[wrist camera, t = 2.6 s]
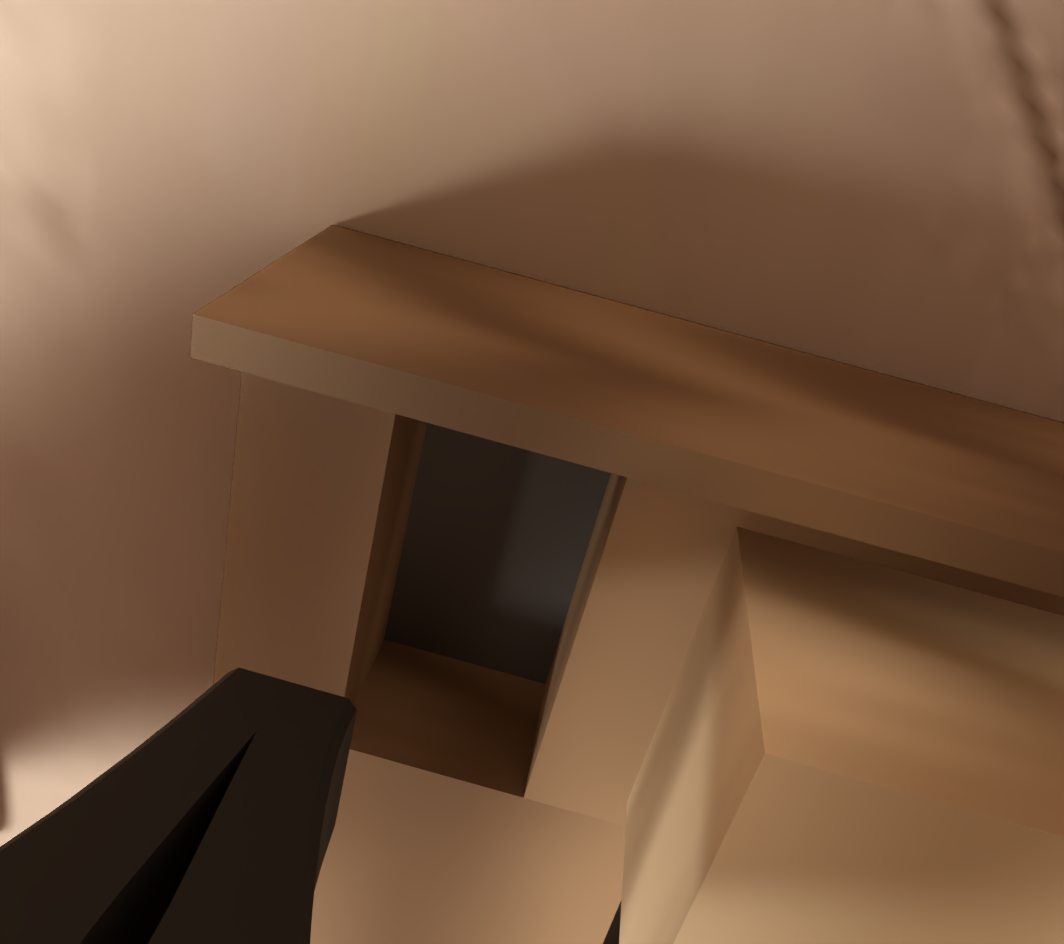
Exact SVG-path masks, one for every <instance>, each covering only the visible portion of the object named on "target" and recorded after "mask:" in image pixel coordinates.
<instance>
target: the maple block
mask: <svg viewBox="0 0 1064 944" xmlns="http://www.w3.org/2000/svg"><path fill="white" fill-rule="evenodd" d="M619 944H1064V616H1062V615H1058V614H1054V613H1051V612H1047V611H1043V610H1040V609H1036V608H1032V607H1029V606H1025V605H1022V604H1018V603H1014V602H1011V601H1007V600H1003V599H1000V598H996V597H992V596H989V595H985V594H981V593H978V592H974V591H971V590H967V589H963V588H960V587H956V586H952V585H949V584H945V583H941V582H938V581H934V580H930V579H927V578H923V577H919V576H916V575H912V574H909V573H905V572H901V571H898V570H894V569H890V568H887V567H883V566H879V565H876V564H872V563H868V562H865V561H861V560H858V559H854V558H850V557H847V556H843V555H839V554H836V553H832V552H828V551H825V550H821V549H817V548H814V547H810V546H806V545H803V544H799V543H796V542H792V541H788V540H785V539H781V538H777V537H774V536H770V535H766V534H763V533H759V532H755V531H752V530H748V529H745V528H741V527H737V528H736V530H735V533H734V535H733V538H732V540H731V543H730V545H729V548H728V550H727V553H726V555H725V558H724V560H723V563H722V565H721V568H720V570H719V573H718V575H717V578H716V580H715V583H714V585H713V588H712V590H711V593H710V595H709V598H708V600H707V603H706V605H705V608H704V610H703V613H702V615H701V618H700V620H699V623H698V625H697V628H696V630H695V633H694V635H693V638H692V640H691V643H690V645H689V648H688V650H687V653H686V655H685V658H684V660H683V663H682V665H681V668H680V670H679V673H678V675H677V678H676V680H675V683H674V685H673V688H672V690H671V693H670V696H669V698H668V701H667V703H666V706H665V708H664V711H663V713H662V716H661V718H660V721H659V723H658V726H657V728H656V731H655V733H654V736H653V738H652V741H651V743H650V746H649V748H648V751H647V753H646V756H645V758H644V761H643V763H642V766H641V768H640V771H639V773H638V776H637V778H636V781H635V783H634V786H633V788H632V791H631V793H630V796H629V798H628V801H627V813H626V830H625V848H624V865H623V883H622V900H621V918H620V935H619Z"/></svg>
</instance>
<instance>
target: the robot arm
mask: <svg viewBox="0 0 1064 944" xmlns="http://www.w3.org/2000/svg"><path fill="white" fill-rule="evenodd" d="M356 713H357V709H356V708H355V706H354V705H353V703H352V702H351V701H350V699H349V698H346V697H342V696H338V695H335V694H331V693H328V692H324V691H321V690H317V689H314V688H310V687H307V686H303V685H300V684H296V683H292V682H289V681H285V680H282V679H278V678H275V677H271V676H268V675H264V674H261V673H257V672H253V671H250V670H246V669H243V668H239V667H238V668H236V669H234V670H232V671H230V672H228V673H227V674H225V675H224V676H223V677H222V678H221V679H220V680H219V681H217V682H216V683H215V684H214V685H213V686H212V687H210V688H209V689H208V690H207V691H206V692H205V693H203V694H202V695H201V696H200V697H199V698H198V699H196V700H195V701H194V702H193V703H192V704H190V705H189V706H188V707H187V708H186V709H184V710H183V711H182V712H181V713H180V714H178V715H177V716H176V717H175V718H174V719H172V720H171V721H170V722H169V723H167V724H166V725H165V726H164V727H162V728H161V729H160V730H159V731H157V732H156V733H155V734H154V735H152V736H151V737H150V738H149V739H147V740H146V741H145V742H144V743H142V744H141V745H140V746H139V747H137V748H136V749H135V750H134V751H132V752H131V753H130V754H128V755H127V756H126V757H124V758H123V759H122V760H120V761H119V762H118V763H116V764H115V765H114V766H112V767H111V768H110V769H108V770H107V771H106V772H104V773H103V774H102V775H100V776H99V777H98V778H96V779H95V780H94V781H92V782H91V783H90V784H89V785H87V786H86V787H85V788H83V789H82V790H81V791H79V792H78V793H77V794H75V795H74V796H73V797H71V798H70V799H69V800H67V801H66V802H64V803H63V804H62V805H60V806H59V807H57V808H56V809H55V810H53V811H52V812H50V813H49V814H48V815H46V816H45V817H43V818H42V819H40V820H39V821H37V822H36V823H35V824H33V825H32V826H30V827H29V828H27V829H26V830H24V831H23V832H21V833H20V834H18V835H17V836H15V837H14V838H13V839H11V840H10V841H8V842H7V843H5V844H4V845H2V846H1V847H0V944H310V937H311V922H312V911H313V899H314V891H315V888H316V884H317V880H318V877H319V873H320V870H321V866H322V863H323V860H324V857H325V854H326V851H327V848H328V845H329V842H330V839H331V836H332V833H333V830H334V827H335V823H336V818H337V812H338V807H339V802H340V797H341V791H342V786H343V781H344V776H345V770H346V765H347V760H348V755H349V749H350V744H351V739H352V734H353V728H354V723H355V718H356Z"/></svg>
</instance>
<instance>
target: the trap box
mask: <svg viewBox="0 0 1064 944" xmlns="http://www.w3.org/2000/svg"><path fill="white" fill-rule="evenodd" d="M190 358H193V359H197V360H200V361H204V362H208V363H211V364H215V365H219V366H222V367H226V368H230V369H233V370H237V371H241V372H242V376H241V387H240V398H239V409H238V419H237V430H236V441H235V452H234V463H233V474H232V485H231V496H230V506H229V517H228V528H227V539H226V550H225V561H224V572H223V582H222V593H221V604H220V615H219V626H218V637H217V648H216V659H215V669H214V680H213V685H214V684H215V683H216V682H217V681H219V680H220V679H221V678H222V677H223V676H224V675H225V674H227V673H228V672H230V671H232V670H234V669H236V668H238V667H239V668H243V669H246V670H250V671H253V672H257V673H261V674H264V675H268V676H271V677H275V678H278V679H282V680H285V681H289V682H292V683H296V684H300V685H303V686H307V687H310V688H314V689H317V690H321V691H324V692H328V693H331V694H335V695H338V696H342V697H346V698H349V699H350V701H351V702H352V703H353V705H354V706H355V708H356V709H357V713H356V718H355V723H354V728H353V734H352V739H351V744H350V749H349V755H348V760H347V765H346V770H345V776H344V781H343V786H342V791H341V797H340V802H339V807H338V812H337V818H336V823H335V827H334V830H333V833H332V836H331V839H330V842H329V845H328V848H327V851H326V854H325V857H324V860H323V863H322V866H321V870H320V873H319V877H318V880H317V884H316V888H315V891H314V899H313V911H312V922H311V937H310V944H619V935H620V918H621V900H622V883H623V865H624V848H625V830H626V813H627V801H628V798H629V796H630V793H631V791H632V788H633V786H634V783H635V781H636V778H637V776H638V773H639V771H640V768H641V766H642V763H643V761H644V758H645V756H646V753H647V751H648V748H649V746H650V743H651V741H652V738H653V736H654V733H655V731H656V728H657V726H658V723H659V721H660V718H661V716H662V713H663V711H664V708H665V706H666V703H667V701H668V698H669V696H670V693H671V690H672V688H673V685H674V683H675V680H676V678H677V675H678V673H679V670H680V668H681V665H682V663H683V660H684V658H685V655H686V653H687V650H688V648H689V645H690V643H691V640H692V638H693V635H694V633H695V630H696V628H697V625H698V623H699V620H700V618H701V615H702V613H703V610H704V608H705V605H706V603H707V600H708V598H709V595H710V593H711V590H712V588H713V585H714V583H715V580H716V578H717V575H718V573H719V570H720V568H721V565H722V563H723V560H724V558H725V555H726V553H727V550H728V548H729V545H730V543H731V540H732V538H733V535H734V533H735V530H736V528H737V527H741V528H745V529H748V530H752V531H755V532H759V533H763V534H766V535H770V536H774V537H777V538H781V539H785V540H788V541H792V542H796V543H799V544H803V545H806V546H810V547H814V548H817V549H821V550H825V551H828V552H832V553H836V554H839V555H843V556H847V557H850V558H854V559H858V560H861V561H865V562H868V563H872V564H876V565H879V566H883V567H887V568H890V569H894V570H898V571H901V572H905V573H909V574H912V575H916V576H919V577H923V578H927V579H930V580H934V581H938V582H941V583H945V584H949V585H952V586H956V587H960V588H963V589H967V590H971V591H974V592H978V593H981V594H985V595H989V596H992V597H996V598H1000V599H1003V600H1007V601H1011V602H1014V603H1018V604H1022V605H1025V606H1029V607H1032V608H1036V609H1040V610H1043V611H1047V612H1051V613H1054V614H1058V615H1062V616H1064V423H1061V422H1057V421H1054V420H1050V419H1046V418H1043V417H1039V416H1035V415H1032V414H1028V413H1024V412H1021V411H1017V410H1013V409H1009V408H1006V407H1002V406H998V405H995V404H991V403H987V402H984V401H980V400H976V399H973V398H969V397H965V396H962V395H958V394H954V393H951V392H947V391H943V390H939V389H936V388H932V387H928V386H925V385H921V384H917V383H914V382H910V381H906V380H903V379H899V378H895V377H892V376H888V375H884V374H881V373H877V372H873V371H869V370H866V369H862V368H858V367H855V366H851V365H847V364H844V363H840V362H836V361H833V360H829V359H825V358H822V357H818V356H814V355H811V354H807V353H803V352H799V351H796V350H792V349H788V348H785V347H781V346H777V345H774V344H770V343H766V342H763V341H759V340H755V339H752V338H748V337H744V336H741V335H737V334H733V333H729V332H726V331H722V330H718V329H715V328H711V327H707V326H704V325H700V324H696V323H693V322H689V321H685V320H682V319H678V318H674V317H671V316H667V315H663V314H659V313H656V312H652V311H648V310H645V309H641V308H637V307H634V306H630V305H626V304H623V303H619V302H615V301H612V300H608V299H604V298H601V297H597V296H593V295H589V294H586V293H582V292H578V291H575V290H571V289H567V288H564V287H560V286H556V285H553V284H549V283H545V282H542V281H538V280H534V279H531V278H527V277H523V276H519V275H516V274H512V273H508V272H505V271H501V270H497V269H494V268H490V267H486V266H483V265H479V264H475V263H472V262H468V261H464V260H461V259H457V258H453V257H449V256H446V255H442V254H438V253H435V252H431V251H427V250H424V249H420V248H416V247H413V246H409V245H405V244H402V243H398V242H394V241H391V240H387V239H383V238H379V237H376V236H372V235H368V234H365V233H361V232H357V231H354V230H350V229H346V228H343V227H339V226H335V225H331V226H330V227H328V228H327V229H325V230H323V231H322V232H320V233H319V234H317V235H316V236H314V237H313V238H311V239H309V240H308V241H306V242H305V243H303V244H302V245H300V246H298V247H297V248H295V249H294V250H292V251H291V252H289V253H288V254H286V255H284V256H283V257H281V258H280V259H278V260H277V261H275V262H273V263H272V264H270V265H269V266H267V267H266V268H264V269H263V270H261V271H259V272H258V273H256V274H255V275H253V276H252V277H250V278H248V279H247V280H245V281H244V282H242V283H241V284H239V285H238V286H236V287H234V288H233V289H231V290H230V291H228V292H227V293H225V294H224V295H222V296H220V297H219V298H217V299H216V300H214V301H213V302H211V303H209V304H208V305H206V306H205V307H203V308H202V309H200V310H199V311H197V312H195V313H194V314H193V320H192V336H191V352H190Z"/></svg>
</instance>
